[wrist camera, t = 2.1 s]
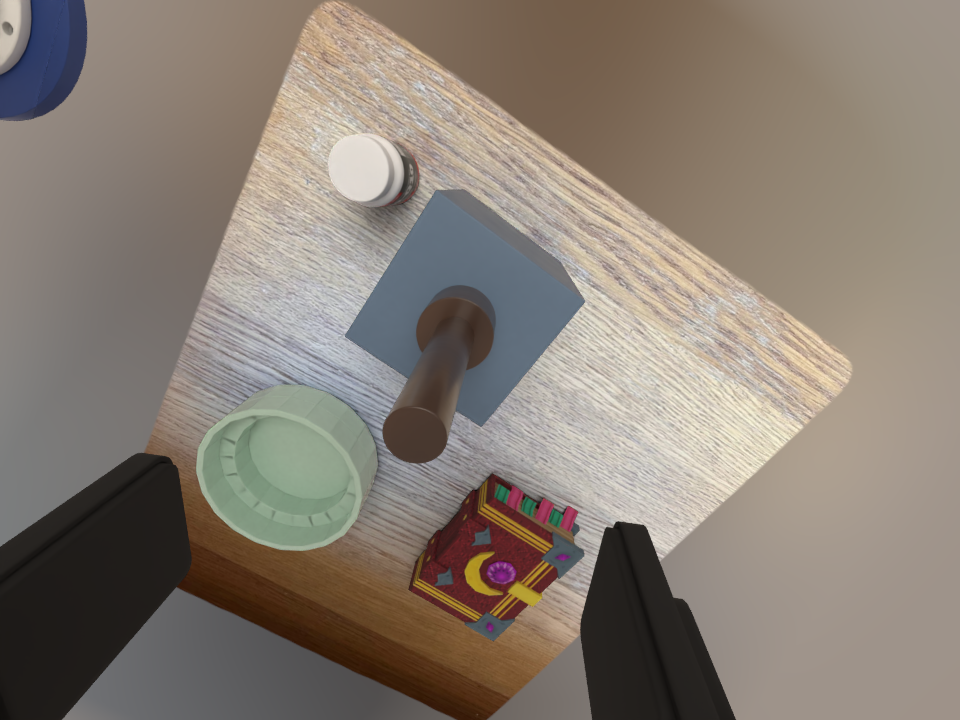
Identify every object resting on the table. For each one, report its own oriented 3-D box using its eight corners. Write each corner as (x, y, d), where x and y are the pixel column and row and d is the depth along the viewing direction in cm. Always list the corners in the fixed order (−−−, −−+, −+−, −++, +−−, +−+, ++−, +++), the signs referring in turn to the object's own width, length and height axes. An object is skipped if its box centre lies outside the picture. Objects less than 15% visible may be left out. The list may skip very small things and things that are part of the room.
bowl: (211, 459, 48) (171, 495, 42) (273, 351, 43) (237, 376, 37) (335, 532, 50) (313, 575, 45) (407, 437, 45) (392, 472, 40)
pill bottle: (402, 216, 38) (372, 224, 30) (352, 183, 37) (309, 181, 29) (431, 164, 36) (408, 158, 28) (380, 128, 35) (342, 111, 28)
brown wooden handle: (413, 326, 26) (326, 446, 14) (451, 270, 25) (392, 349, 13) (469, 365, 27) (433, 511, 15) (509, 312, 25) (506, 425, 13)
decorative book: (413, 557, 51) (403, 595, 46) (497, 460, 45) (496, 491, 41) (495, 605, 52) (493, 646, 48) (586, 517, 47) (594, 553, 42)
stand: (399, 287, 40) (343, 336, 27) (463, 188, 36) (436, 189, 23) (491, 351, 41) (481, 427, 28) (561, 262, 38) (586, 301, 25)
